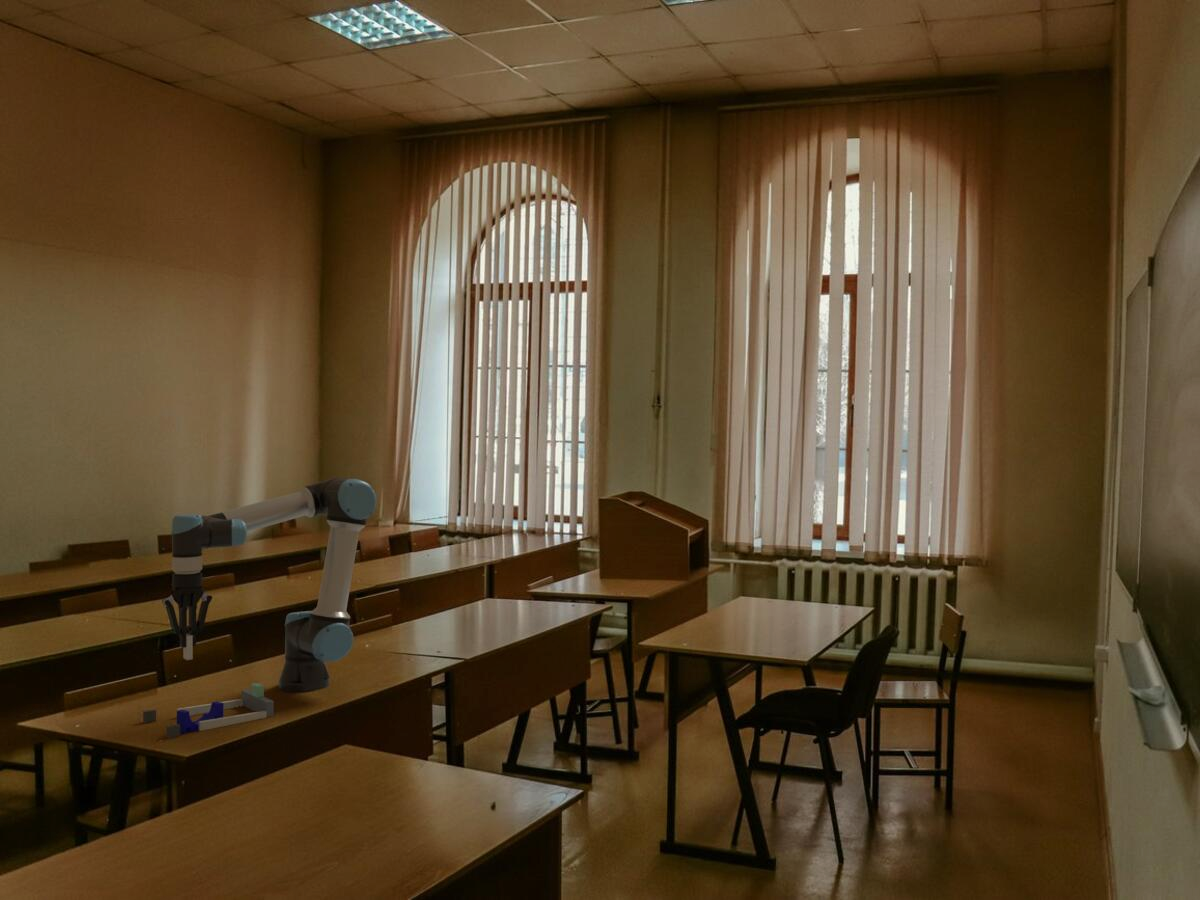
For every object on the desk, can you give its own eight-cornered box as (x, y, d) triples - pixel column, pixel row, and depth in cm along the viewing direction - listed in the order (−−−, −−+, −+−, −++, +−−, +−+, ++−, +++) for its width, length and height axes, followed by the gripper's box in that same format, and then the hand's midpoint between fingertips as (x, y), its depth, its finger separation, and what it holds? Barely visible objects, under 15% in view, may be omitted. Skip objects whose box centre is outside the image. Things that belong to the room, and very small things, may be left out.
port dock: (248, 706, 294) (248, 678, 294) (273, 719, 281) (273, 690, 281) (176, 717, 281) (177, 688, 281) (199, 732, 268) (200, 701, 268)
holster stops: (154, 720, 278) (154, 709, 278) (179, 736, 263) (180, 725, 263) (143, 722, 276) (143, 711, 276) (167, 738, 261) (168, 727, 261)
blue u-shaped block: (212, 722, 278) (212, 700, 278) (223, 725, 275) (223, 703, 275) (173, 732, 268) (173, 709, 268) (183, 735, 265) (184, 712, 265)
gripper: (205, 568, 284) (206, 652, 284) (157, 572, 275) (158, 660, 276) (216, 571, 278) (217, 657, 279) (167, 575, 270) (168, 664, 270)
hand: (188, 658), depth 277 cm, fingers closed
